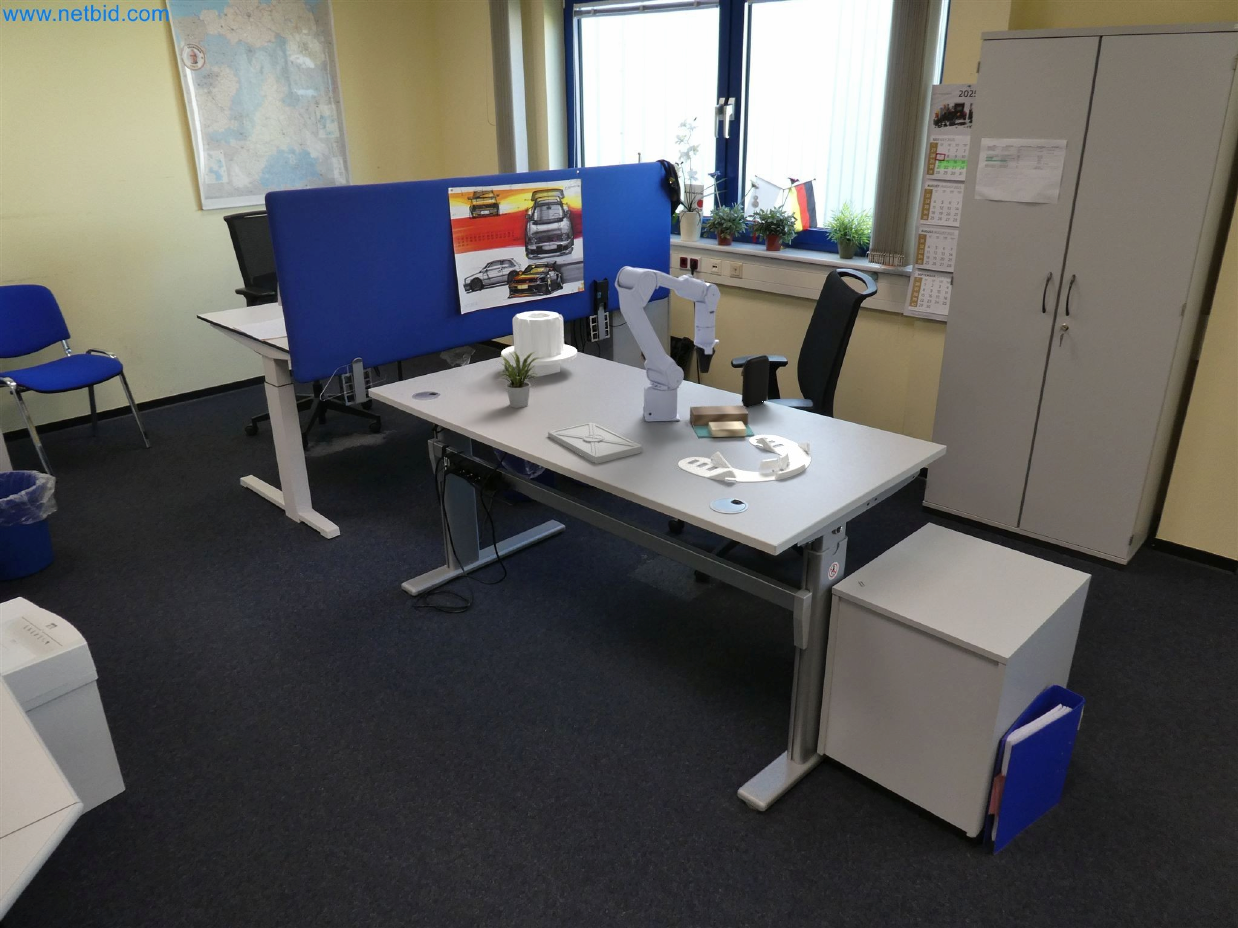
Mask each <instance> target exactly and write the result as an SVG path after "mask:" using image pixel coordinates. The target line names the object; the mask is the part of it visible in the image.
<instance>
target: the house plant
mask: <svg viewBox="0 0 1238 928" xmlns="http://www.w3.org/2000/svg"><path fill="white" fill-rule="evenodd" d="M508 352H509V351H508ZM509 353H510V352H509ZM533 353H535V352H532V353H530V354H529V355H528V356H527V357H526V358H525V359H524V360H523V363H522V368H520V359H519V356H518V355H517V353H516V352H514V354H515V357H516V359H515V357H514V356H513V355H512V354H511V353H510V354H511V355H512V356H513V358H514V360H515V363H516V364H515V363H514V364H515V367H514V364H512V363H510V362H509V361H508V360H507V359H506V358H504V357H503V356H501V355H499V356H500V357H501V359H502V358H503V359H504V360H503V359H502V360H503V361H504V364H503V363H502V362H500V363H501V365H502V366H503V367H504V370H503V371H502V372H501V371H500V372H499V371H498V373H499V374H501V375H503V376H505V377H507V378H505V377H500V378H499V379H500V380H506V381H507V382H508V383H506V384H505V387H506V392H507V396H508V399H509V405H510V407H512V408H515V409H516V408H517V409H518V408H526V407H528V406H529V399H530V390H531V383H530V382H528V381H526V380H529V379H534V380H536V379H535V378H536V377H534V376H532V375H537V374H536V373H532V374H528V373H529V371H530V370H531V369H532V368H533V367H535V366H533V367H531V368H529V366H530V364H531V363H532V362H533V361H534V360H536V359H540V358H534V359H532V360H531V361H530V363H528V364H527V362H528V361H529V360H528V359H529V357H530V356H531V355H532V354H533ZM527 360H528V361H527ZM496 362H497V363H498V362H499V361H497V360H496ZM526 364H527V365H526ZM526 367H527V369H526ZM528 368H529V369H528ZM515 369H516V370H515ZM525 369H526V370H525ZM505 372H506V373H505ZM508 378H509V379H508Z"/></svg>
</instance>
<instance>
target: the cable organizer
mask: <svg viewBox="0 0 1238 928" xmlns="http://www.w3.org/2000/svg"><path fill="white" fill-rule="evenodd" d="M748 441H749V443H750V444H751V445H753V446H754V447H757V446H758V447H761V448H762V449H763V450H766V451H768V452H772V453H775V454H776V455H780V456H779V458H777V457H774V458H769V459H763V460H761V462H760V464H759V467H758V470H759V471H765V470H766V471H767V470H768V471H769V470H772V472H759V471H749V470H741V469H738V468H734V467H732V465H731V464H730V463H729V462H728V461H727V460H726V459H725V457H724V456H723V455H722V454H721V452H719V451H717V452H715V453H714V454H712V456H711V457H710V458H707V457H703V456H702V457H701V456H699V457H698V456H693V457H692V456H691V457H686V458H683V459H680V460H679V461H678V463H677V464H678V467H679V468H680V469H681V470H682V471H685V472H686V473H687V472H688V473H689V474H692V475H696V476H698V477H703V478H706V479H710V480H711V479H712V480H718V481H722V482H723V481H724V482H725V481H736V483H761V482H762V483H763V482H771V481H778V480H782V479H783V480H784V479H786V478H790V477H793V476H796V475H798V474H800V473H801V472H803V471H805V470H806V469H808V468H809V466H810V464H811V460H812V458H811V455H810V452H811V449H810V442H809V441H808V442H803V443H800V444H798V442H795V441H793V440H790V439H788V438H785V437H782V436H779V435H775V434H774V435H773V434H757V435H754V436H750V438H749V439H748ZM771 442H772V443H771ZM779 445H781V446H779ZM776 446H778V447H776ZM808 453H809V454H808ZM713 460H715V461H717V462H715V461H713ZM693 461H694V463H692V464H691V462H693ZM695 461H696V462H695ZM704 464H706V465H704ZM701 465H704V466H702V467H699V466H701ZM714 467H715V469H713V470H709V469H711V468H714ZM781 470H782V471H781Z"/></svg>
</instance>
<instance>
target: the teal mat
mask: <svg viewBox="0 0 1238 928" xmlns="http://www.w3.org/2000/svg"><path fill="white" fill-rule="evenodd" d="M744 426H745V427H746V436H745V437H753V436H755V433H754V430H752V428H751V426H750V424H748V425H744ZM693 430H694V431H695V435H696V436H697V438H713V437H712V436H711V433H710V431H709V426H694V427H693ZM726 437H730V438H731V437H735V438H736V436H726ZM726 437H725V438H726Z"/></svg>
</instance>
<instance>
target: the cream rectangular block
mask: <svg viewBox="0 0 1238 928" xmlns="http://www.w3.org/2000/svg"><path fill="white" fill-rule="evenodd" d="M709 431H710V433H711V436H712V437H711V438H726V436H735V437H747V436H746V427H745V426H744V424H743V422H742V421H738V422H709Z"/></svg>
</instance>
